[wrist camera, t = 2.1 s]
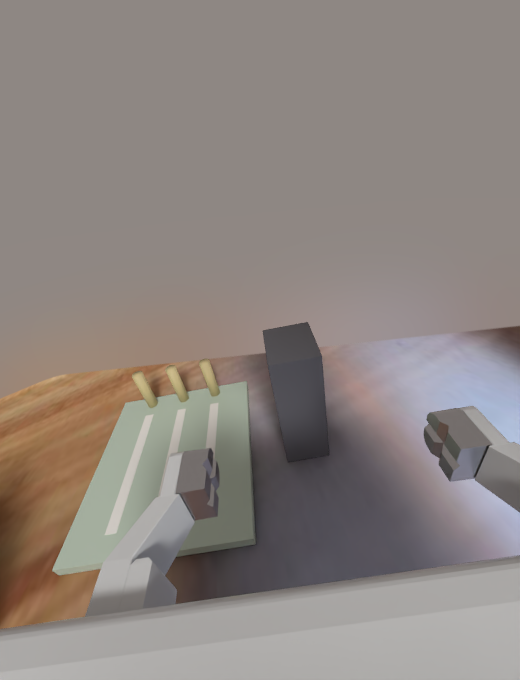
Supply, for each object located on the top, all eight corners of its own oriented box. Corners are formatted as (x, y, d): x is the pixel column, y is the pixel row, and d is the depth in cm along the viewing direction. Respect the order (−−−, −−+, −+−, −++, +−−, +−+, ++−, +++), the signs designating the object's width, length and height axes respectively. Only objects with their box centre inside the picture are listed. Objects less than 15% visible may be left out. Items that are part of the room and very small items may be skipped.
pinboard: (248, 386, 38) (238, 349, 34) (255, 544, 23) (239, 505, 19) (129, 408, 38) (107, 373, 35) (59, 575, 23) (10, 542, 20)
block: (316, 413, 32) (307, 320, 25) (329, 455, 28) (322, 356, 21) (280, 419, 32) (262, 329, 26) (287, 462, 28) (267, 365, 21)
